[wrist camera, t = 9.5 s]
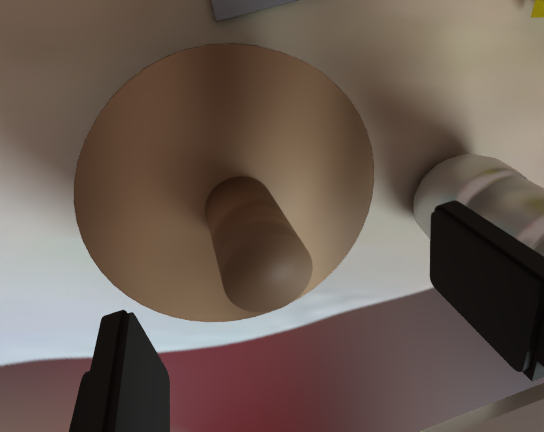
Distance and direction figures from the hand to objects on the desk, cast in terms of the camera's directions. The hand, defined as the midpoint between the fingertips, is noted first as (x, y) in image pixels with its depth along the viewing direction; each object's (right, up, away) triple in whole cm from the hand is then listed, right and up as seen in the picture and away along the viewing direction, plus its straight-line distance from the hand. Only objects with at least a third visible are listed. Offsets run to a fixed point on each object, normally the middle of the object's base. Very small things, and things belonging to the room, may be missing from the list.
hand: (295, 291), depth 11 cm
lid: (-2, +3, +6) cm, 7 cm away
